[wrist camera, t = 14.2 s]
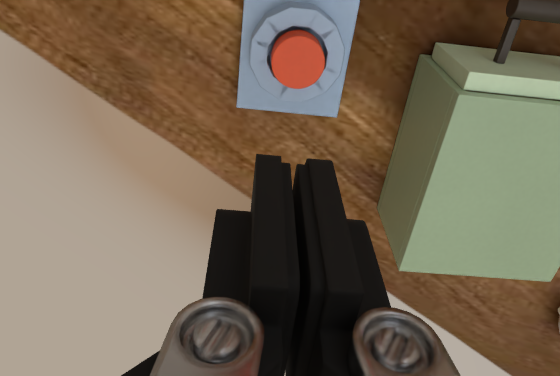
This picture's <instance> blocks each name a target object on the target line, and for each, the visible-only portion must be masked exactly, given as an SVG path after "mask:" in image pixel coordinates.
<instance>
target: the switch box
mask: <svg viewBox="0 0 560 376" xmlns="http://www.w3.org/2000/svg"><path fill="white" fill-rule="evenodd" d="M359 3H360V0H244V6H243V21H242V35H241V50H240V64H239V79H238V93H237V108H247V109H257V110H267V111H277V112H287V113H297V114H307V115H317V116H327V117H337V115H338V110H339V105H340V100H341V95H342V89H343V84H344V79H345V74H346V69H347V64H348V59H349V54H350V49H351V44H352V39H353V34H354V28H355V23H356V18H357V13H358V8H359ZM291 30H304V31H307V32H309V33H311V34H312V35H314V36H315V37H316V38H317V39H318V41H319V43H320V45H321V47H322V50H323V53H324V56H325V67H324V70H323V73H322V75H321V76H320V78H319V79H318V80H317V81H316V82H315V83H314V84H312V85H311V86H308V87H306V88H302V89H293V88H289V87H287V86H285V85H283V84H282V83H280V82H279V81H278V80H277V78H276V77H275V75H274V73H273V71H272V65H271V52H272V48H273V46H274V43H275V42H276V40H277V39H278V38H279V37H280V36H281V35H283V34H284V33H286V32H288V31H291Z"/></svg>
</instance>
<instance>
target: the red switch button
mask: <svg viewBox="0 0 560 376" xmlns="http://www.w3.org/2000/svg"><path fill="white" fill-rule="evenodd" d="M271 65H272V71H273V73H274V75H275V77H276V78H277V80H278V81H279V82H280V83H282V84H283V85H285V86H287V87H289V88H293V89H302V88H306V87H308V86H311V85H312V84H314V83H315V82H316V81H317V80H318V79H319V78H320V76H321V75H322V73H323V70H324V67H325V56H324V53H323V50H322V47H321V45H320V43H319V41H318V39H317V38H316V37H315V36H314V35H312V34H311V33H309V32H307V31H304V30H291V31H288V32H286V33H284V34H283V35H281V36H280V37H279V38H278V39H277V40H276V42H275V43H274V46H273V48H272V52H271Z"/></svg>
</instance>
